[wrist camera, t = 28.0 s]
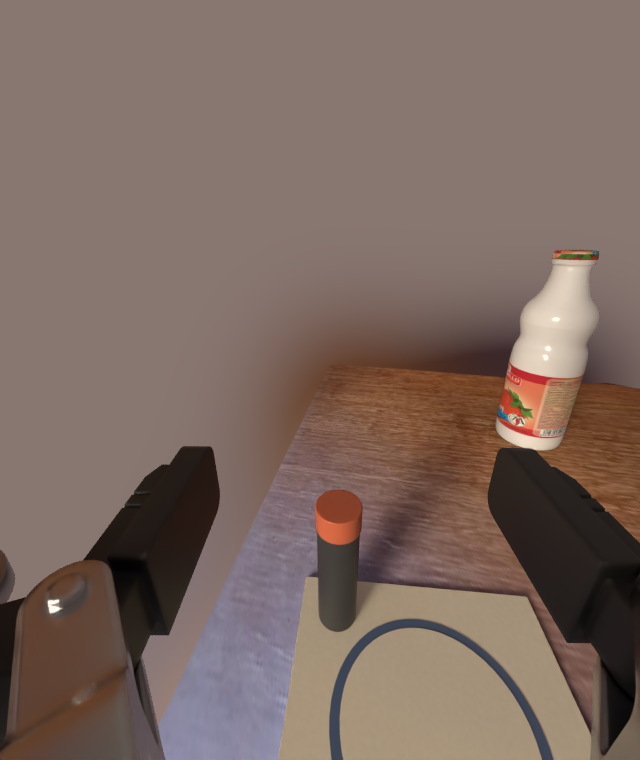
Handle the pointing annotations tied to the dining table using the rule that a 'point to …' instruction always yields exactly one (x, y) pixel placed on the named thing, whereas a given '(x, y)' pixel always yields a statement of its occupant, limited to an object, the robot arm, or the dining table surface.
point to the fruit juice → (550, 355)
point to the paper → (429, 681)
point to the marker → (338, 557)
